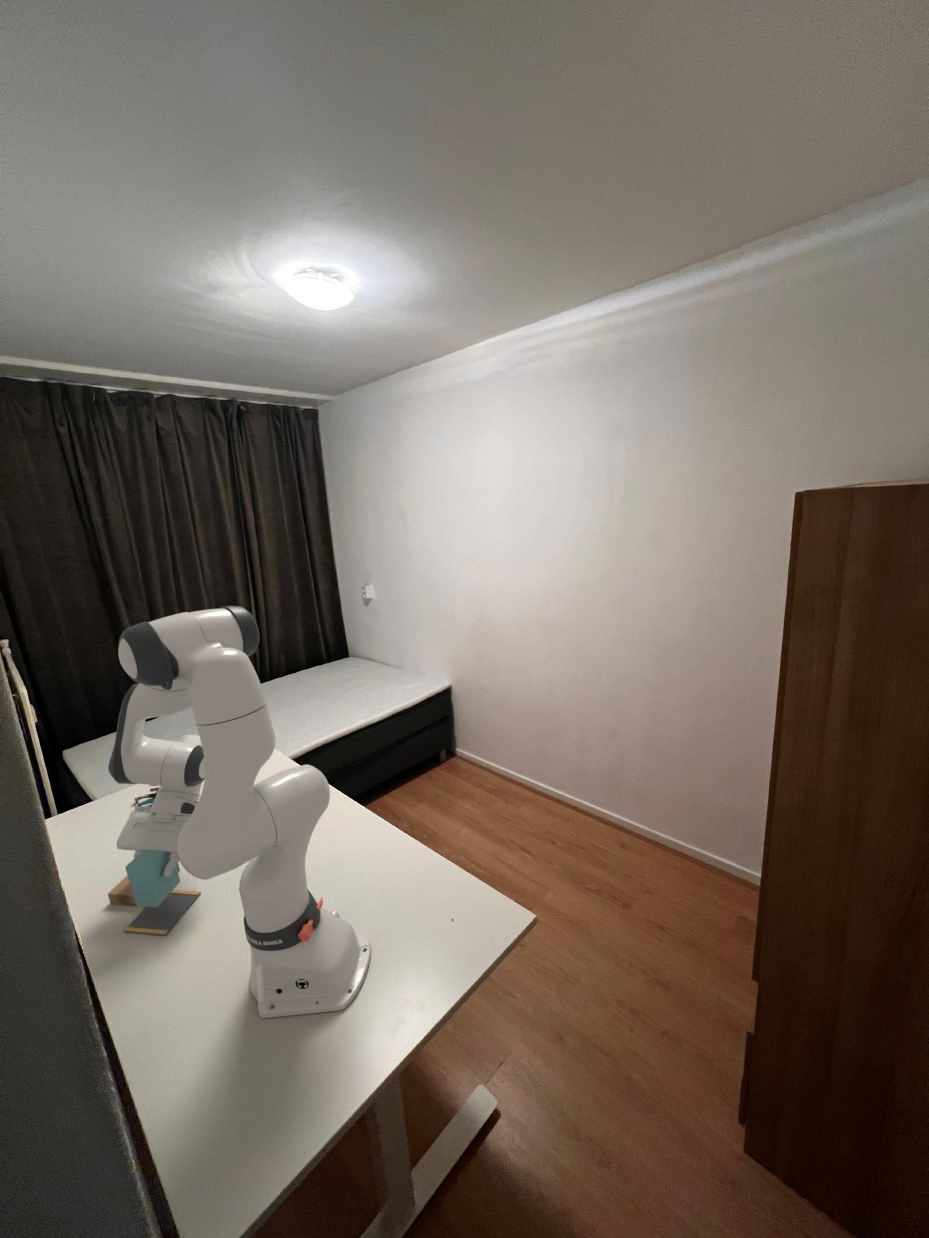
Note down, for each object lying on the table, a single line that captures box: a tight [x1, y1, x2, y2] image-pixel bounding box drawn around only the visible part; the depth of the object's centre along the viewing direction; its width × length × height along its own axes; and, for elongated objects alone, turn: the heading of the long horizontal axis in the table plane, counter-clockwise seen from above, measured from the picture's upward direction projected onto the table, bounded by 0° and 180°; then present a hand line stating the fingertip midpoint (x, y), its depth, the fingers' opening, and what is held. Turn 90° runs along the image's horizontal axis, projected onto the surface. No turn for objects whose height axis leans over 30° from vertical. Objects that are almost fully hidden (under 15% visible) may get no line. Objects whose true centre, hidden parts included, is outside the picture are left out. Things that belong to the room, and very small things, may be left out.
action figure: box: [133, 785, 160, 811], centre depth 150 cm, size 8×6×18 cm
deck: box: [107, 862, 181, 908], centre depth 114 cm, size 9×11×3 cm
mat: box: [122, 889, 202, 937], centre depth 107 cm, size 10×11×1 cm
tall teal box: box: [125, 849, 181, 908], centre depth 105 cm, size 5×7×10 cm
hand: (151, 875), depth 104 cm, fingers closed on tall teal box, 5 cm apart
